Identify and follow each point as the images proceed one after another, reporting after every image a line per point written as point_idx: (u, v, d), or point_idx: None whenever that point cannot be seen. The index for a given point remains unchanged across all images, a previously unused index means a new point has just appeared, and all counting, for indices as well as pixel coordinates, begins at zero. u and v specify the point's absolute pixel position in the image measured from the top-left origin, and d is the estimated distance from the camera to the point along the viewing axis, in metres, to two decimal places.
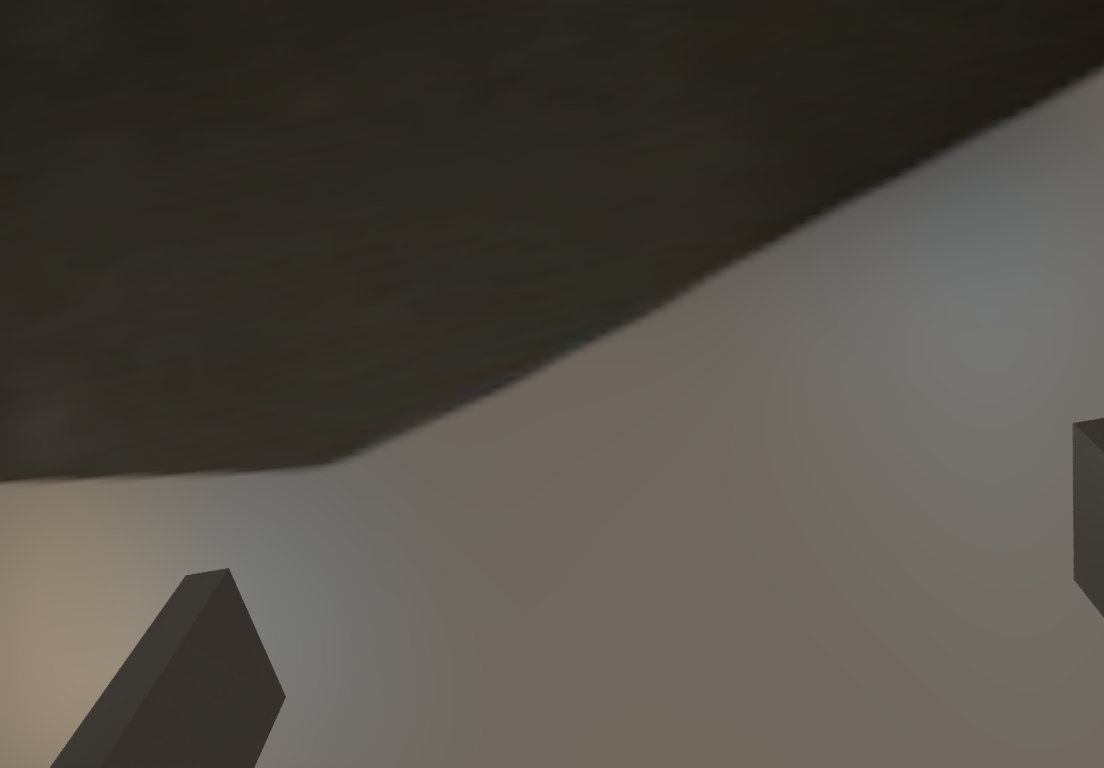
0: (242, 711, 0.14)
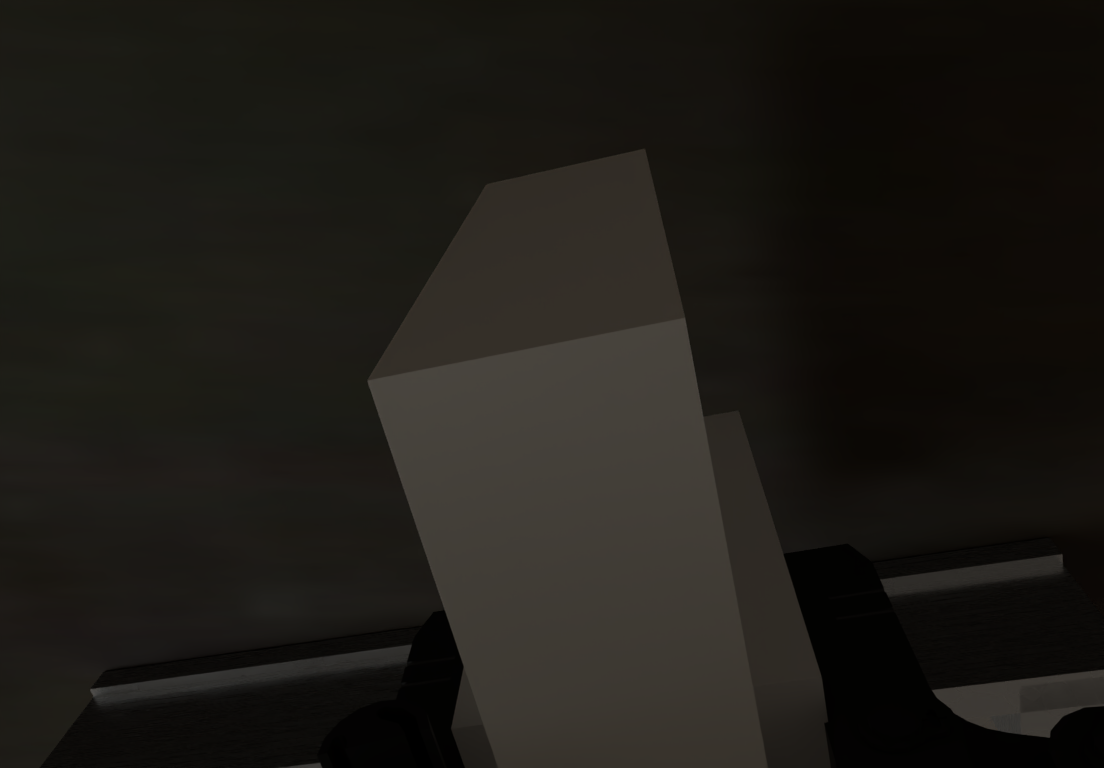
0: None
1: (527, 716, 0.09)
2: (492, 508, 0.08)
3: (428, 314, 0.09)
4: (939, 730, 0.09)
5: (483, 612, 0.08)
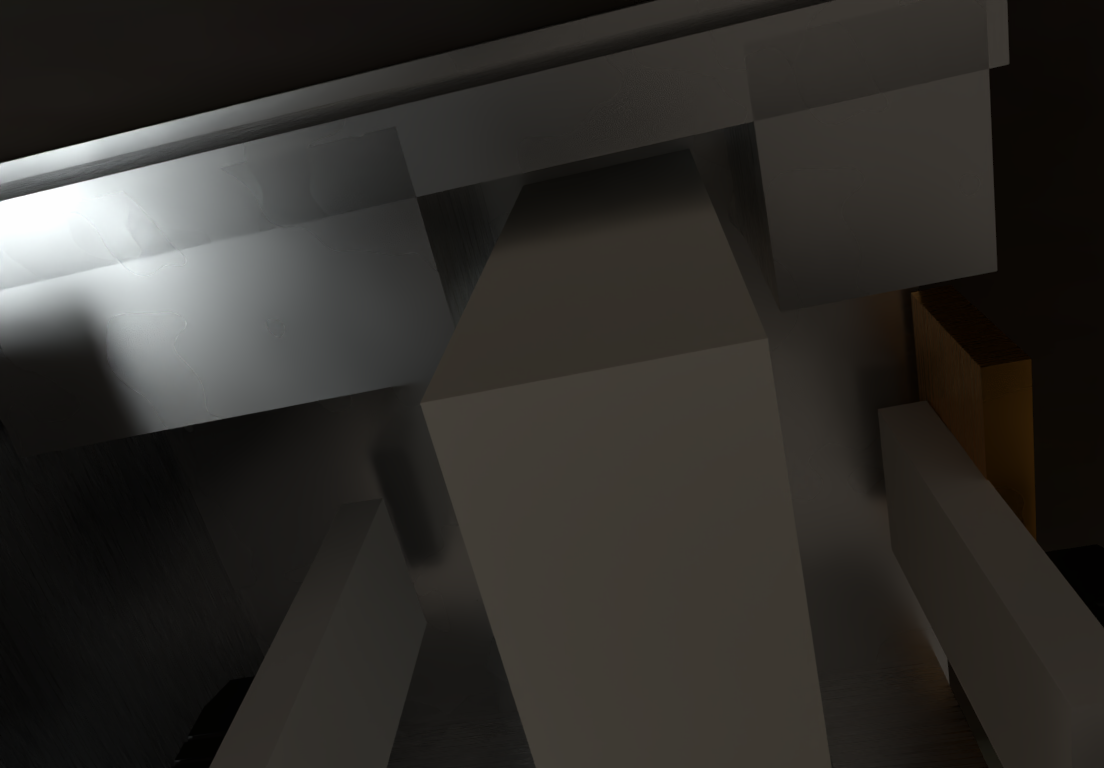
0: (399, 629, 0.15)
1: (582, 757, 0.08)
2: (552, 540, 0.07)
3: (479, 329, 0.08)
4: None
5: (538, 648, 0.08)
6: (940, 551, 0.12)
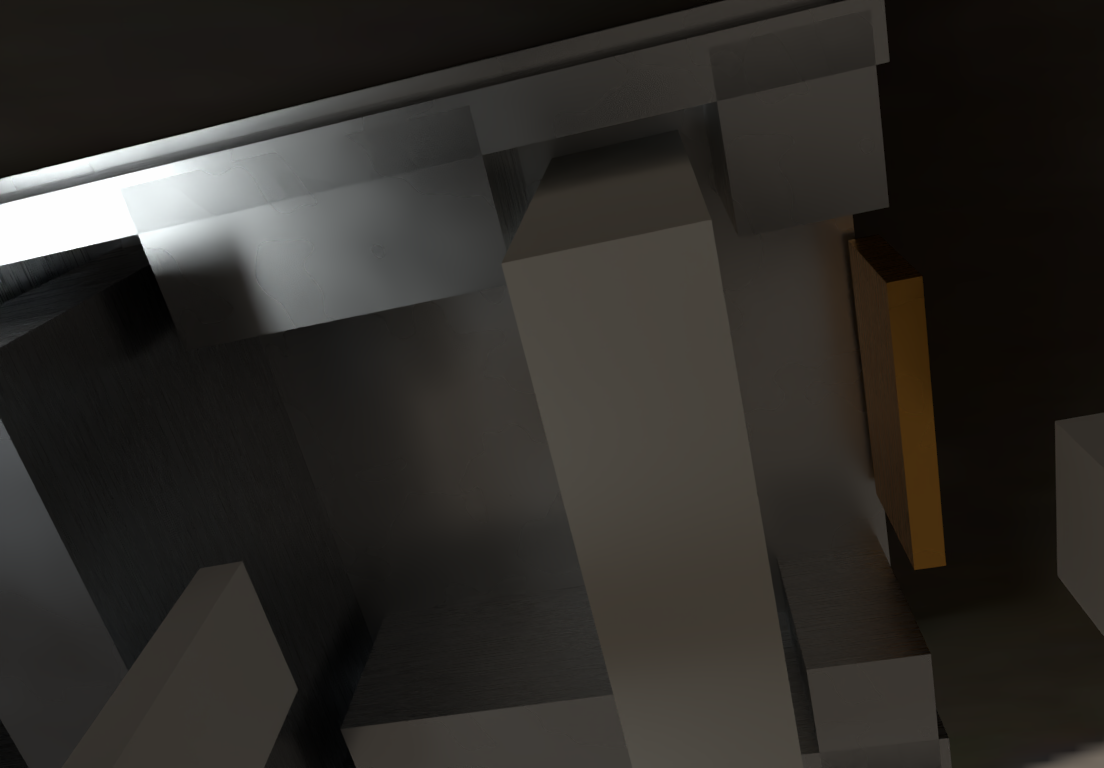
0: (256, 703, 0.14)
1: (598, 511, 0.12)
2: (580, 354, 0.12)
3: (532, 231, 0.12)
4: None
5: (570, 431, 0.12)
6: None
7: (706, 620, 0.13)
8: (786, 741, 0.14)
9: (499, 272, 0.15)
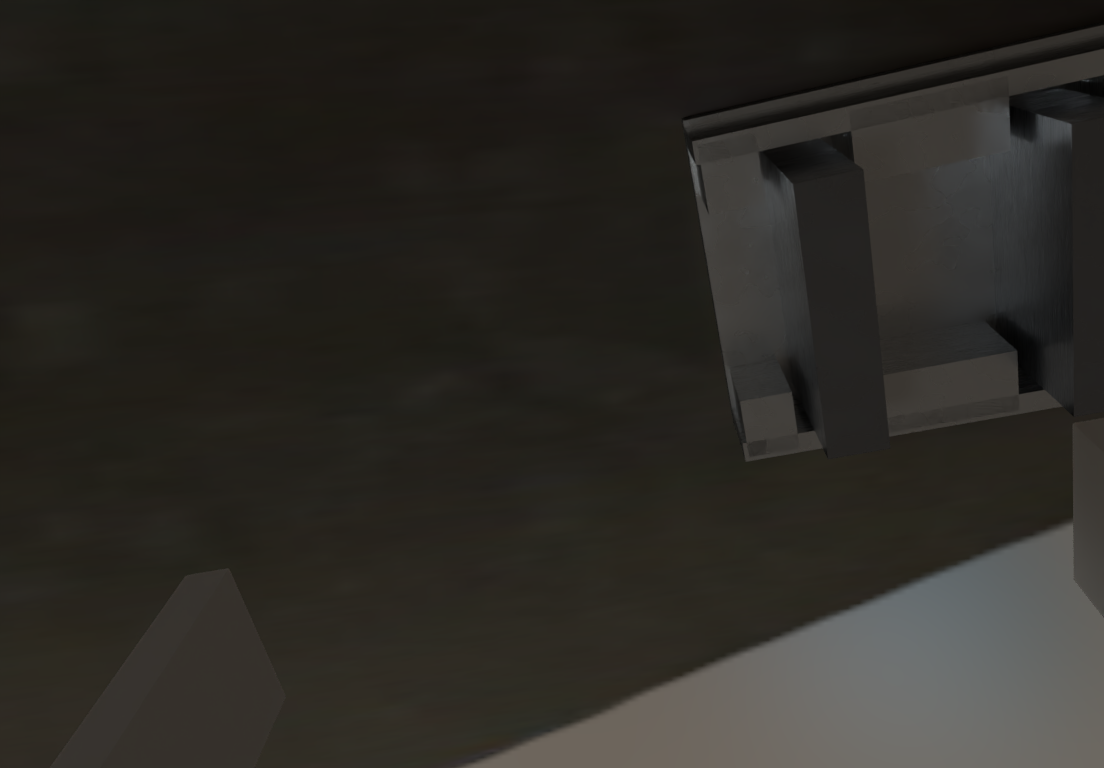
0: (242, 711, 0.14)
1: None
2: None
3: None
4: None
5: None
6: None
7: None
8: None
9: None
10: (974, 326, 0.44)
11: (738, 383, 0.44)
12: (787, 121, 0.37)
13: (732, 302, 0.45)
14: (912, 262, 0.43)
